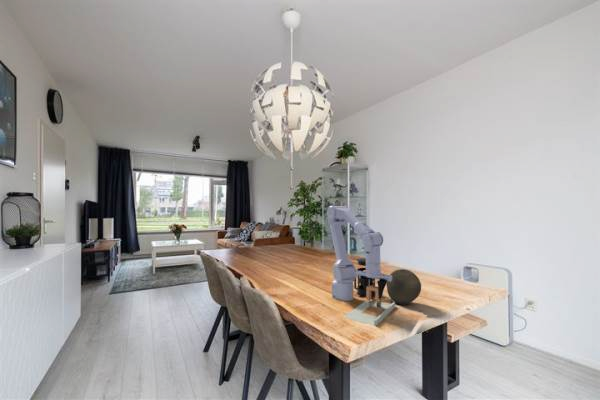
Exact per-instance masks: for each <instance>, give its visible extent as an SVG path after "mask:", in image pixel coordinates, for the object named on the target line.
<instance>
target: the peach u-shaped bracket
mask: <svg viewBox="0 0 600 400" xmlns="http://www.w3.org/2000/svg"><path fill="white" fill-rule="evenodd" d="M371 290H372V291H375V296H374V297H375V298H376V303H377V302H378V303H379V302H380V301H381V302H382V298H381V299H379V296H378V292H379V290H378V285H377V286H376V285H375V286H371V285H368V286H366V297H365V298H366V300H365V301H372V300H373V299H372V298H373V297H372V296H371Z"/></svg>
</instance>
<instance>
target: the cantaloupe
mask: <svg viewBox="0 0 600 400" xmlns="http://www.w3.org/2000/svg"><path fill="white" fill-rule="evenodd" d="M389 275H391V276H392V281H391V282H390V281H387V283H386V290H387V296H388V297H389V298H390V299H391V300H392V302H395V304H397V305H408V304H411V303H413V302H414V301H415V300H416V299H417V298H419V296H420V294H421V292H422V283H421V281H420V278H419V277H418V276H417V275H416V273H414V272H413V271H411V270H410V269H409V270H408V269H405V268H404V269H403V268H402V269H401V268H399V269H396V270H393V271H392V272H391V273H390V274H389Z"/></svg>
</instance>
